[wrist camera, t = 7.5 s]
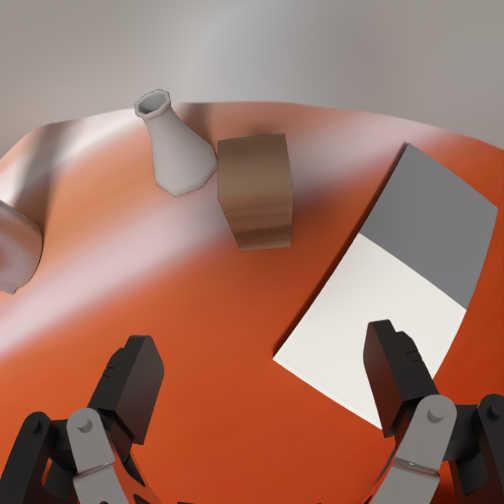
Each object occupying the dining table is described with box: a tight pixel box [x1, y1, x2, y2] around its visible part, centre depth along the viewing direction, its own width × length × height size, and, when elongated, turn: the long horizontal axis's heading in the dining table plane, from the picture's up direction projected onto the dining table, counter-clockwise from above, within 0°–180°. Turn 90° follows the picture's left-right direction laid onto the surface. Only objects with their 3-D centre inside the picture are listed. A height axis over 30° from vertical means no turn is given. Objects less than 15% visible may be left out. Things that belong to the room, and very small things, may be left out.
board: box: [273, 144, 498, 429], centre depth 24 cm, size 26×13×1 cm, turn 143°
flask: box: [135, 89, 218, 197], centre depth 26 cm, size 7×7×10 cm
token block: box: [218, 134, 293, 251], centre depth 22 cm, size 4×4×10 cm
